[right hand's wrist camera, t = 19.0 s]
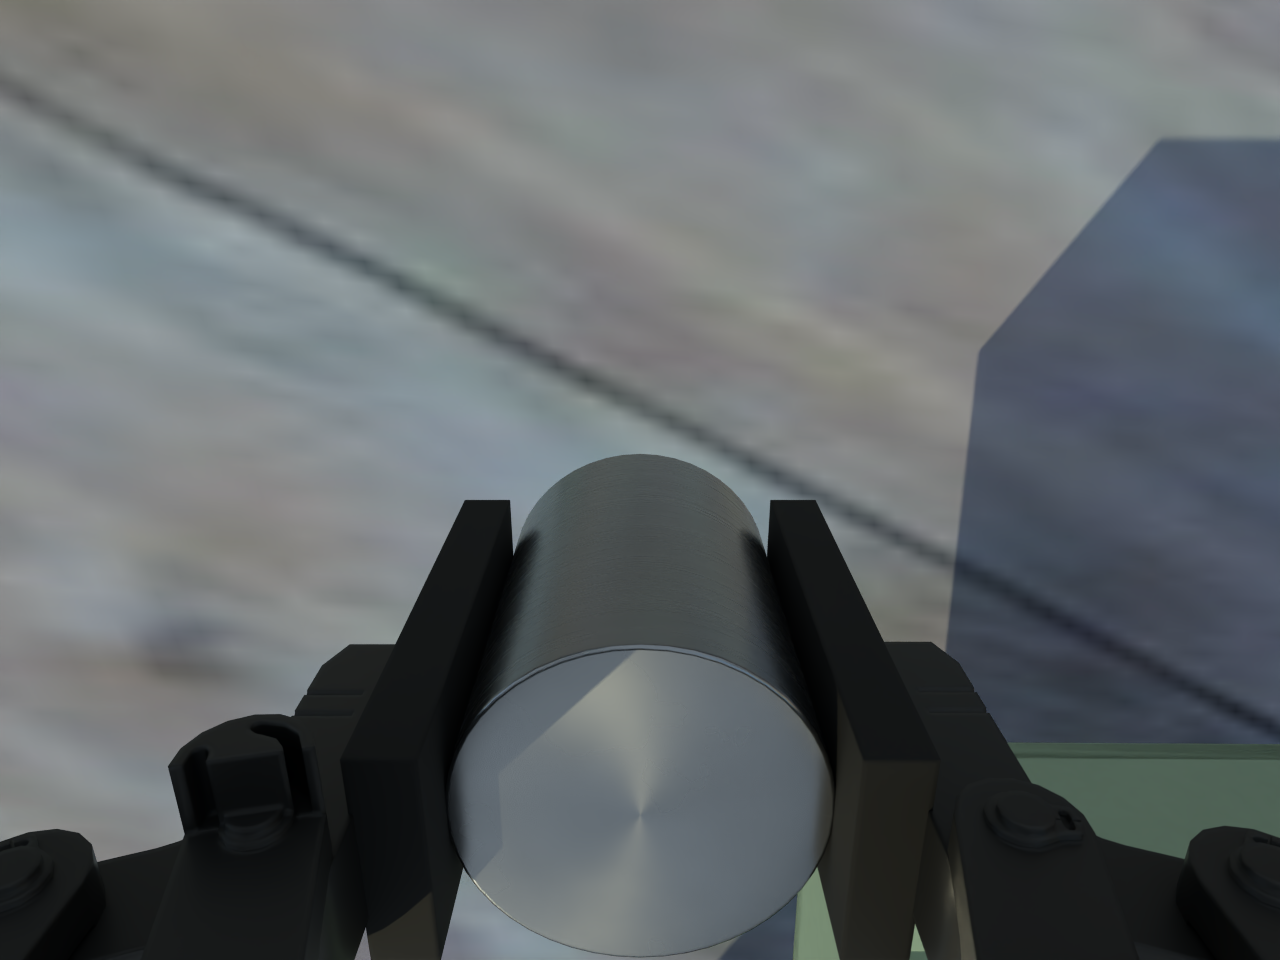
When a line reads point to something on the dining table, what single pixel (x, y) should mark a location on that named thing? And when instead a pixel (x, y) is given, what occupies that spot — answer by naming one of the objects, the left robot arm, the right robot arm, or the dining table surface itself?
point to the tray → (1119, 805)
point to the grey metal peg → (640, 722)
